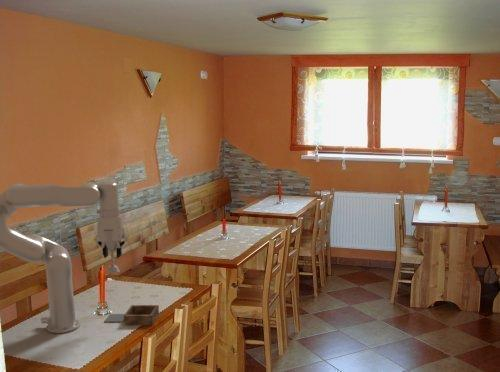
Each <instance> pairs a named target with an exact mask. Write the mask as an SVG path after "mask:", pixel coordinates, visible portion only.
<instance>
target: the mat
mask: <svg viewBox="0 0 500 372" xmlns="http://www.w3.org/2000/svg"><path fill="white" fill-rule="evenodd" d="M124 315H125V313H110V314H108V316H107V317H106V318H105V320H104V321H103V323H124Z"/></svg>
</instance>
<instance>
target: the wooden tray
mask: <svg viewBox="0 0 500 372" xmlns="http://www.w3.org/2000/svg"><path fill="white" fill-rule="evenodd" d="M159 307H160V306H159V305H158V304H142V305H141V304H132V305H130V307H129V308H128V310H127V311H126V312H125V313H124V314H125V315H124V322H123V323H124V326H153V325H154V324H155V322H156V320H157V318H158V317H159V315H160V309H159Z"/></svg>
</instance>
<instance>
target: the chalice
mask: <svg viewBox="0 0 500 372" xmlns="http://www.w3.org/2000/svg"><path fill="white" fill-rule="evenodd" d="M113 231H114V230H112V231H104V232H105V233H106V242H105V245H106V246H107V248H108V252H110V257H111V259H110V262H111V264H110V265H109V267H108V269H107V272H106V273H107V274H117V273H119V272H120V269H119V266H118V265H115V253H114V251H116V248H117V244H116V242H113V241H112V232H113Z"/></svg>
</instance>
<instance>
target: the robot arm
mask: <svg viewBox="0 0 500 372" xmlns="http://www.w3.org/2000/svg"><path fill="white" fill-rule="evenodd" d="M119 199H120V198H119V187H118V184H117V183H116V182H114V181H112V182H111V181H106V182H100V183H99V182H97V183H95V182H85V183H82V184H81V185H80V186H71V187H70V186H62V185H61V186H60V185H57V184H52V183H51V184H50V183H45V184H26V185H25V184H23V183H21V182H20V183H19V182H18V183H17V182H16V183H12V184H11V185H10V186H8V187H7V188H6V189H5V190H4V191H3V192H2V193H1V194H0V250H2V251H4V252H6V253H8V254H10V255H12V256H14V257H17V258H19V259H21V260H23V261H25V262H27V263H34V264H35V263H38V262H39V263H41V264H44V265H45V276H46V287H47V296H48V297H47V299H48V311H49V316H41V318H40V322H41V324H47V325H46V331H48V333H51V334H64V333H68V332H69V331H70V332H73V331H75V330H76V329H78V328H79V327H80V326H81V323H80V321H79V320H78V319H76V310H75V309H76V308H75V299H74V298H75V296H74V286H73V268H72V267H73V265H72V259H71V256H70V253H69V251H68V249H67V248H66V247H64V246H62V245H60V244H58V243H57V242H54V241H52V240H50V239H48V238H45V237H44V236H41V235H39V234H35V233H31V234H27V235H25V234H23V233H21V232H19V231H17V230H14V229H13V228H10V227H8V225H7V222H8V219H9V218H11V216H12V215H14V213H16V211H18V210H19V209H22V208H23V209H24V208H39V207H85V206H92V205H95V204H98V202H99V209H98V210H96V214H98V215H99V216H98V217H97V223H96V224H97V229H96V235H95V237H94V238H93V242H95V243H97V244H98V245H99V247H101V249H102V256H103V258H104V259H105V258H106V259H107V257H108V256H109V250H108V248H107V246H106V245H105V242H106V233H105V232H104V231H112V230H114V231H113V232H112V241H113V242H116V244H117V247H116V250H115V251H116V259H119V258H120V257H121V256H122V253H123V252H122V251H123V250H122V247H123V245H124V244H126V243H127V242H128V241H130V237H128V235H127V234H126V233H125V229H124V227H125V226H124V222H123V218H122V215H121V214H120V203H119V201H120V200H119ZM70 332H69V333H70Z"/></svg>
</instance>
